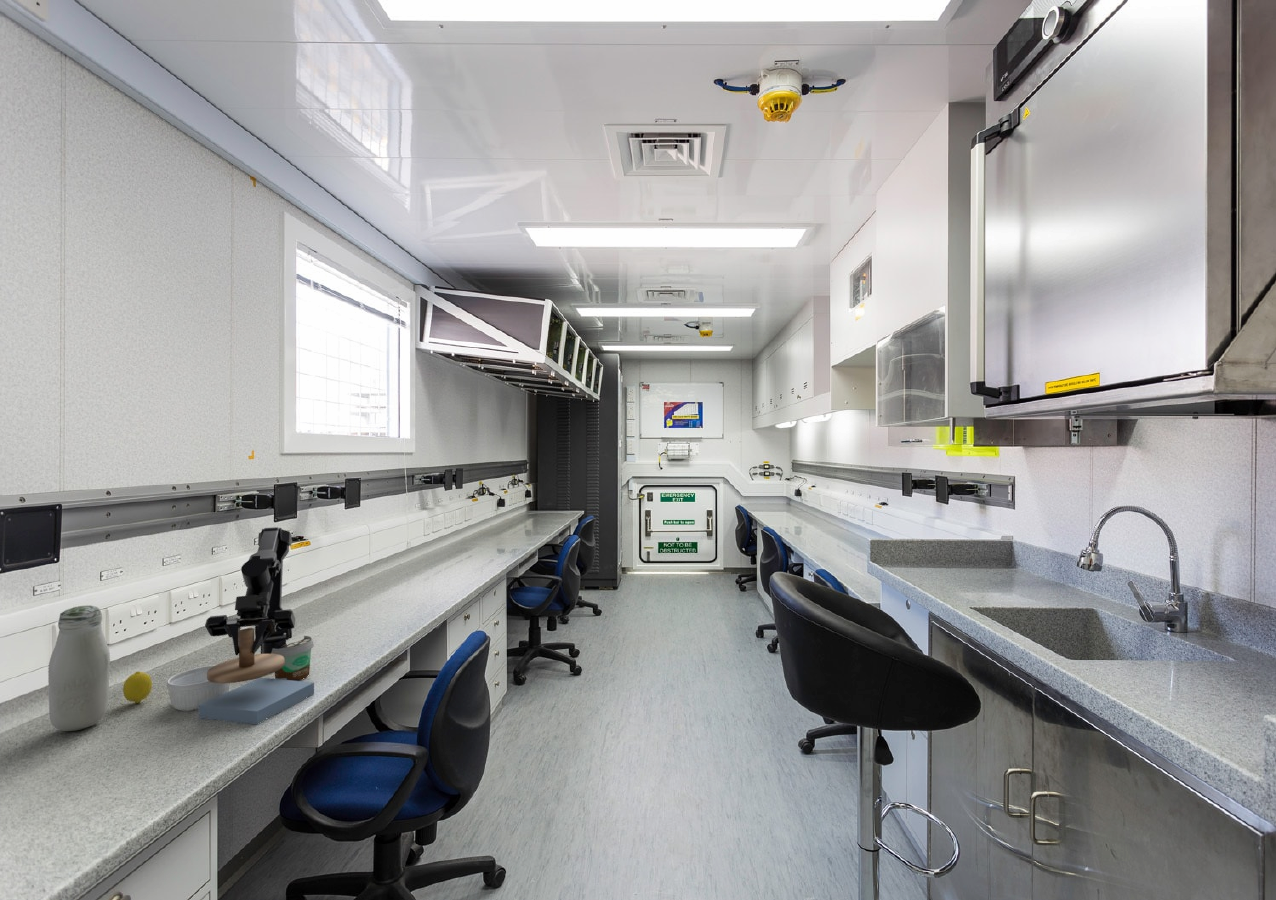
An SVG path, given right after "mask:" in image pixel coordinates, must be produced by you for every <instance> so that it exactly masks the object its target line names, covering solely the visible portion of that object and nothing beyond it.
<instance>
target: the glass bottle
mask: <svg viewBox="0 0 1276 900" xmlns="http://www.w3.org/2000/svg"><path fill="white" fill-rule="evenodd" d="M102 621H103V613H102V611H101V609H100V608H99V607H98V606H95V605H79V606H74V607H71V608H68V609H65V610H64V611H62V612H60V614H59V618H58V622H57V624H58V625H57V626H58V630H59V631H58V633H57V637H56V641H55V646H54V648H53V650H52V652H51V655H50V658H49V662H48V668H47V669H48V671H47V673H48V680H47V681H48V710H49V711H48V714H49V719H50V720H49V721H50V723H51V726H53V727H54V728H55V729H57V730H59V731H64V732H74V731H79V730H83V729H87V728H89V727H91V726H94V725H96V724H97V723H99V722H100V721H102V719H103V718H104V716H105V715H106V713H107V711H108V709H109V701H110V670H111V669H110V666H111V656H110V648H109V646H108V643H107V640H106V637H105V635H104V633H103V627H102Z"/></svg>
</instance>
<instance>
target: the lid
mask: <svg viewBox="0 0 1276 900" xmlns="http://www.w3.org/2000/svg"><path fill="white" fill-rule="evenodd" d="M254 641H255V627H254V628H253V627H247V628H243V629H242V628H241V629H240V631H239V654H238V657H235V658H232V659H228V660H225V661H223V662H220V663H218V664H214V665H215V666H213V667H212V668H210V669H209V670H208V671H207V680H208V681H210V682H213V683H230V684H234V683H241V682H247V681H254V680H256V679H258V678H264V677H266V676H268V675H272V674H275V672H276V671H278V670H279V669H281V668H282V667H283V666H284V664H285V663H284V657H283V656H281V655H278V654H261V653H257V654H256V653H254V654H253V653H252V648H253V644H254Z"/></svg>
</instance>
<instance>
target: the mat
mask: <svg viewBox="0 0 1276 900" xmlns="http://www.w3.org/2000/svg"><path fill="white" fill-rule="evenodd" d="M309 695H311V696H313V695H315V682H313V681H303V680H300V681H293V680H282V679H275V678H270V677H268V678H267V677H260V678H257V679H253V680H250V681H249V682H247V683H245V684H242V685H240V686H238V687H236V688H233V689H232V690H229V692H227V693H225V694H222V695H220V696H218V697H216V698H213V699H211V700H209V701H207V702H204V703H202V704H200V705H199V709H198V718H199V719H206V718H208V720H215V719H218V720H217V721H223V720H225V721H224V722H232V721H233V723H234V721H235V723H241V722H243V723H242V724H250V723H253V725H259V724H260V722H261V723H262V721H263V720H265V719H266V718H268V719H270V718H272V717H274V716H275V715H274V714H276V713H278V714H279V712H280V713H281V712H283V711H285V710H287V709H289V708H290V707H292V705H293V706H295V705H296V704H298V703H300V702H302V701H303V699H304V700H306V699H307V698H306V697H308V696H309ZM309 697H310V696H309ZM309 697H308V698H309ZM305 698H306V699H305ZM299 701H300V702H299ZM297 702H298V703H297ZM288 707H289V708H288ZM286 708H287V709H286ZM273 715H274V716H273ZM276 715H277V714H276ZM271 716H272V717H271ZM269 717H270V718H269ZM266 720H267V719H266ZM266 720H265V721H266ZM263 722H264V721H263ZM258 723H259V724H258Z"/></svg>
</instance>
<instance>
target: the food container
mask: <svg viewBox="0 0 1276 900" xmlns="http://www.w3.org/2000/svg"><path fill="white" fill-rule="evenodd" d="M314 647H315V644H314V640H313V639H312V636H309V635H303V638H302V639H301V640H298V641H296V642H295V641H294V642H292V643H288V644H287V645H286V646H285V647H283V648H281V649H272V652H271V654H278V655H281V656H283V657H284V663H285V664H284V666H283V667H282V668H281V669H279V670H278V671H276V672H274V679H282V680H293V681H299V680H300V681H303V680H304V679H303V678H305V679H306V677H307V676H308V675H309V676H310V669H311V659H312V658H311V656H312V655H311V654H312V649H313V648H314ZM309 676H308V677H309ZM308 677H307V678H308ZM302 679H303V680H302Z"/></svg>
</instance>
